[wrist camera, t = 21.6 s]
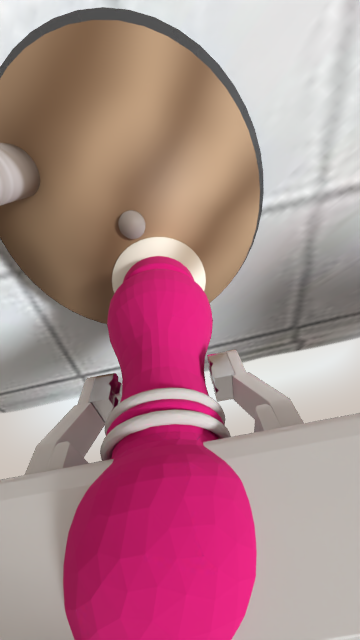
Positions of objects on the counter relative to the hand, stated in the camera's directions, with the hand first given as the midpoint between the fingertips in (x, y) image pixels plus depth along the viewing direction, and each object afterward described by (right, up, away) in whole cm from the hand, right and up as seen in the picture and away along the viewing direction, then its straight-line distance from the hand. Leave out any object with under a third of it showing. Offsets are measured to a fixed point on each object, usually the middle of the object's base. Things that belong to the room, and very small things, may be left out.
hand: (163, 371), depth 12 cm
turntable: (-3, +11, +7) cm, 13 cm away
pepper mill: (-1, +5, +8) cm, 10 cm away
